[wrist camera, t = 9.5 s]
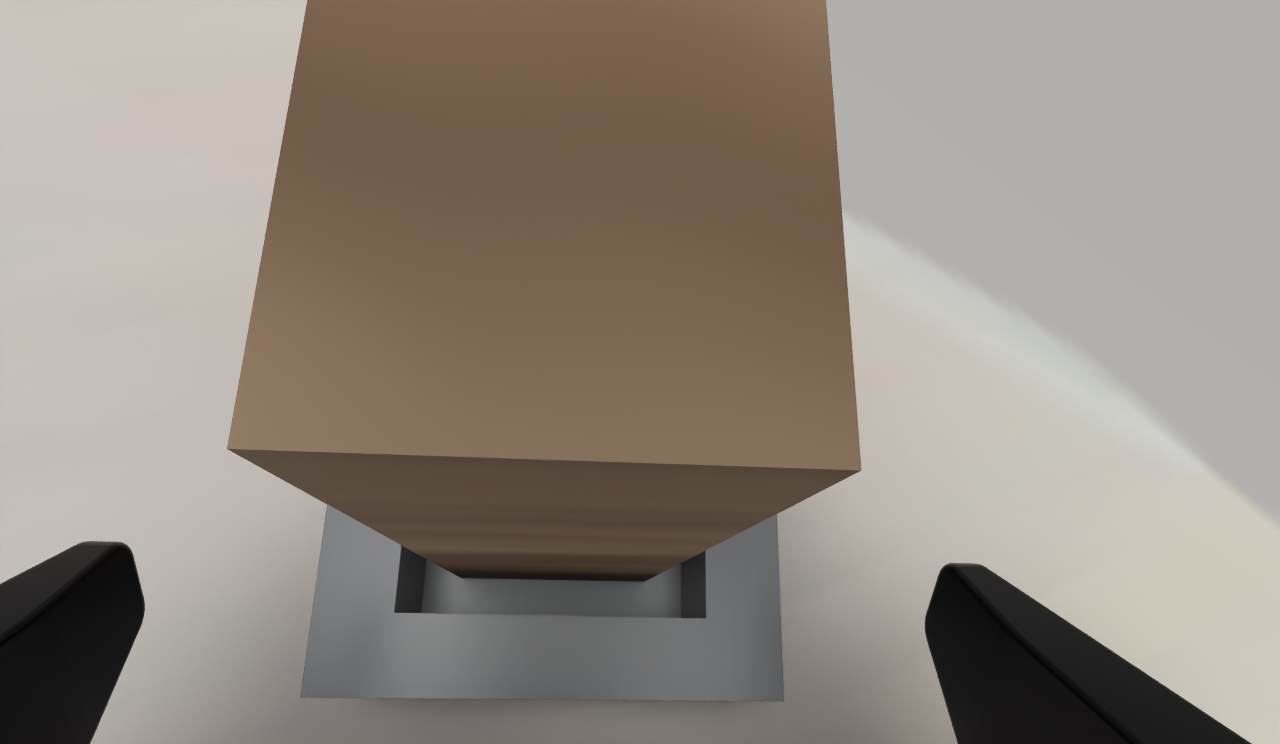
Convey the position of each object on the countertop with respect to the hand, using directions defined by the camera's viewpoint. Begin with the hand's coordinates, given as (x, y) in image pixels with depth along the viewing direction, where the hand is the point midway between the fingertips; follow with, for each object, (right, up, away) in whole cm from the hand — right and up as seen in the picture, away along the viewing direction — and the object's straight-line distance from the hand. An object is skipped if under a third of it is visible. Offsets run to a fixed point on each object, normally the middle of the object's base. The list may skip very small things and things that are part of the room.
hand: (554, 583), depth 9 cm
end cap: (-1, -1, +10) cm, 10 cm away
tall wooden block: (-1, 0, +9) cm, 9 cm away
